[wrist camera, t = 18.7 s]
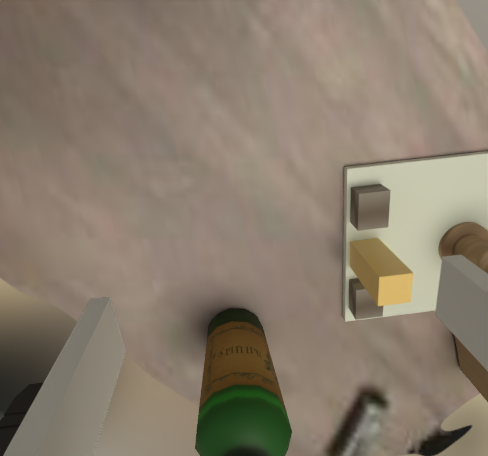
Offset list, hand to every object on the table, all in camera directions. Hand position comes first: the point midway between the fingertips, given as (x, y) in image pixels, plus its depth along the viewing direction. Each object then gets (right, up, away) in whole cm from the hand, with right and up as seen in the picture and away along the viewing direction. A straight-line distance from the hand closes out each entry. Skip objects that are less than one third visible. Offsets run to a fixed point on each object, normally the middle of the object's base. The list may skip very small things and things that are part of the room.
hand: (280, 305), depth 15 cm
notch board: (+15, 0, +38) cm, 41 cm away
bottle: (-3, -13, +43) cm, 45 cm away
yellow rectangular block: (+16, 0, +38) cm, 41 cm away
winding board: (+24, +1, +39) cm, 46 cm away
